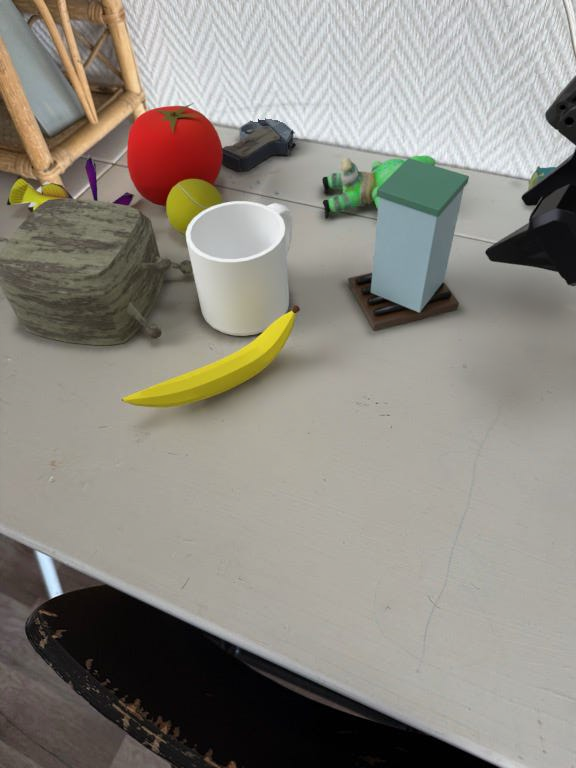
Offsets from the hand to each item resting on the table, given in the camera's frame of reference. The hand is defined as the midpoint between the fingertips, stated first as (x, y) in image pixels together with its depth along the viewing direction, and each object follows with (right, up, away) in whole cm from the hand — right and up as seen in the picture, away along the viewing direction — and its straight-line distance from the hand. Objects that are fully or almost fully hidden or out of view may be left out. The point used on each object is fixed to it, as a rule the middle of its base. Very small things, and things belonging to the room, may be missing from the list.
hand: (506, 226), depth 53 cm
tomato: (-34, +13, +29) cm, 47 cm away
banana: (-26, -15, +7) cm, 31 cm away
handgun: (-31, +21, +35) cm, 51 cm away
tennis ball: (-29, +6, +19) cm, 35 cm away
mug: (-24, -4, +15) cm, 28 cm away
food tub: (-6, -3, +13) cm, 15 cm away
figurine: (+19, +11, +23) cm, 32 cm away
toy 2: (-15, +11, +25) cm, 31 cm away
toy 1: (-46, +14, +24) cm, 53 cm away
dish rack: (-7, -4, +15) cm, 17 cm away
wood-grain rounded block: (-32, -3, +11) cm, 34 cm away
